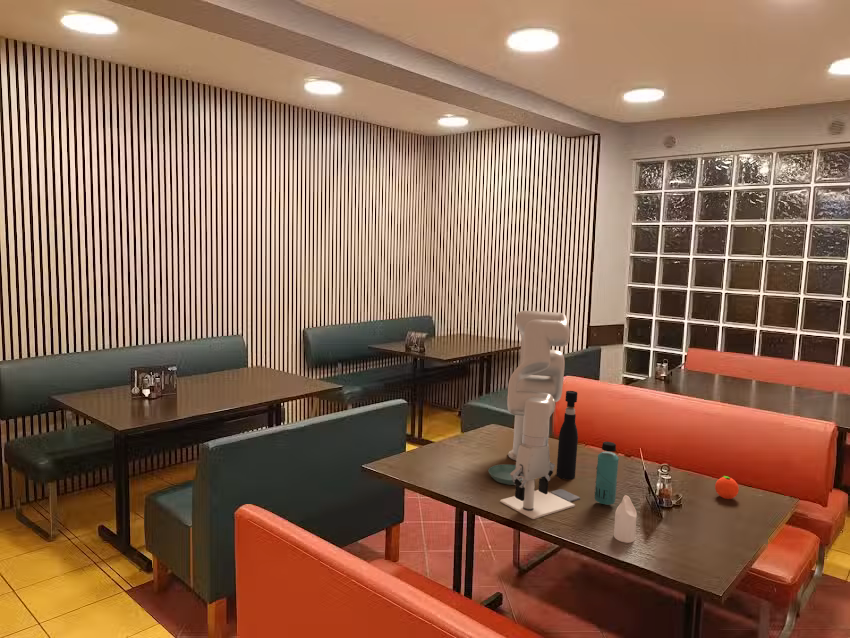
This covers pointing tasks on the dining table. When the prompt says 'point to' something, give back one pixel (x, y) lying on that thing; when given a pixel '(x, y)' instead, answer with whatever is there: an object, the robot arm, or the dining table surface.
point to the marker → (529, 495)
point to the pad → (539, 504)
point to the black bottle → (568, 440)
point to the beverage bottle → (606, 475)
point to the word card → (565, 495)
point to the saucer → (502, 473)
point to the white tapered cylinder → (625, 521)
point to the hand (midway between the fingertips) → (531, 495)
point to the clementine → (726, 487)
